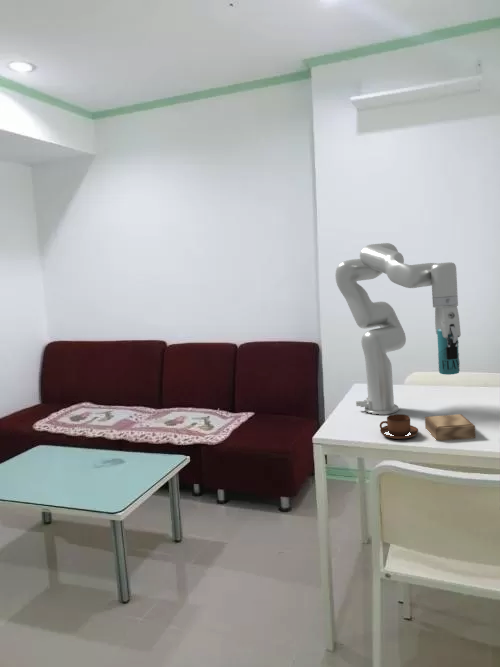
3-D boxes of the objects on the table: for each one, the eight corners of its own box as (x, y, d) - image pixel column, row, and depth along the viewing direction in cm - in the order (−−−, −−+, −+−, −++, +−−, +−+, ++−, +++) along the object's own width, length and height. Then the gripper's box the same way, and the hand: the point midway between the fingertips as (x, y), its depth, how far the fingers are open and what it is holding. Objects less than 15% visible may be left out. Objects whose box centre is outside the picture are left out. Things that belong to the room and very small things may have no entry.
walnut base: (436, 440, 161) (435, 427, 161) (425, 428, 173) (424, 416, 172) (475, 438, 160) (474, 424, 160) (461, 425, 172) (461, 413, 172)
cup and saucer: (393, 444, 162) (392, 425, 161) (373, 433, 173) (372, 416, 173) (426, 437, 165) (425, 419, 164) (404, 427, 177) (403, 409, 176)
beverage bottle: (439, 379, 164) (436, 317, 161) (437, 374, 170) (434, 315, 168) (461, 378, 162) (458, 316, 160) (458, 374, 168) (456, 313, 166)
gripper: (467, 302, 154) (470, 361, 157) (447, 298, 172) (450, 351, 174) (442, 305, 155) (445, 363, 157) (424, 301, 172) (427, 353, 174)
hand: (448, 356), depth 165 cm, fingers closed on beverage bottle, 6 cm apart
